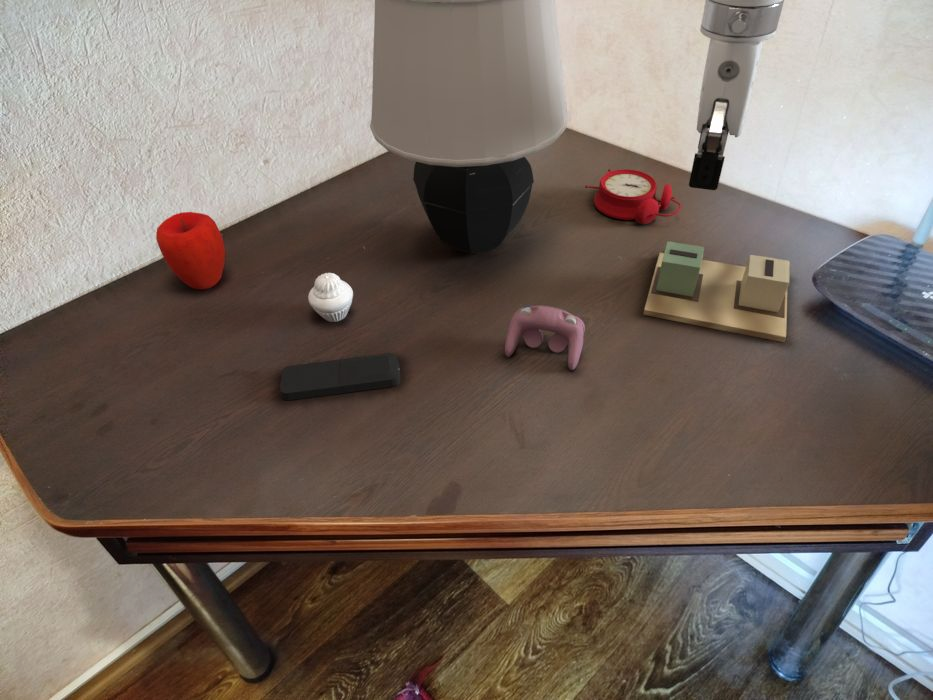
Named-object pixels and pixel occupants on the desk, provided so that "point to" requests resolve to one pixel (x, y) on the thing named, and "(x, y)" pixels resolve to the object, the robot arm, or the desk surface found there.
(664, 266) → the letter tile i
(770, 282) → the cream cube
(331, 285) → the muffin
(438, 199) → the table lamp
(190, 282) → the apple
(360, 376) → the remote control
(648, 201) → the alarm clock
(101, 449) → the desk surface
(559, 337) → the video game controller
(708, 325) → the word board
